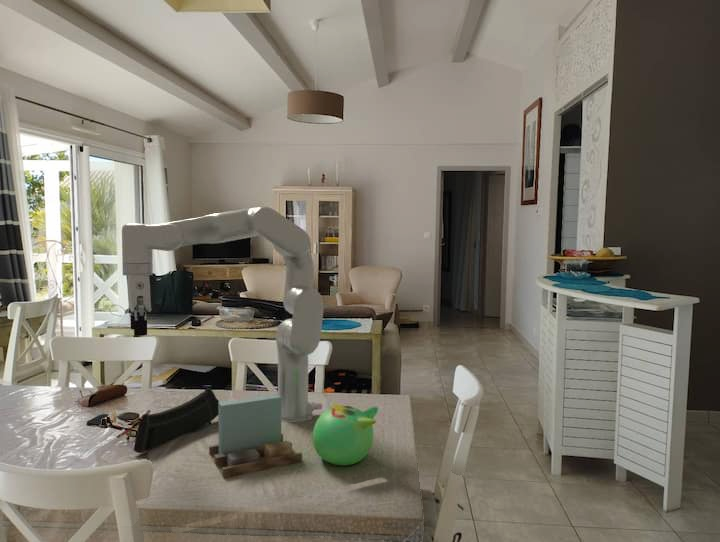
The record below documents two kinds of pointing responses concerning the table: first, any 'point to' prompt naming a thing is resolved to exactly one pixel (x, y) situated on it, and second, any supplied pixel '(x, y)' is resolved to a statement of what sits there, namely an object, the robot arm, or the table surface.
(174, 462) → the table surface
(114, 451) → the table surface
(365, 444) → the toy bird
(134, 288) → the robot arm
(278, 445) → the offcut
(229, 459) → the offcut
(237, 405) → the panel
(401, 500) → the table surface
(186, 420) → the magazine
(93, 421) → the phone
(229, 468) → the rack
